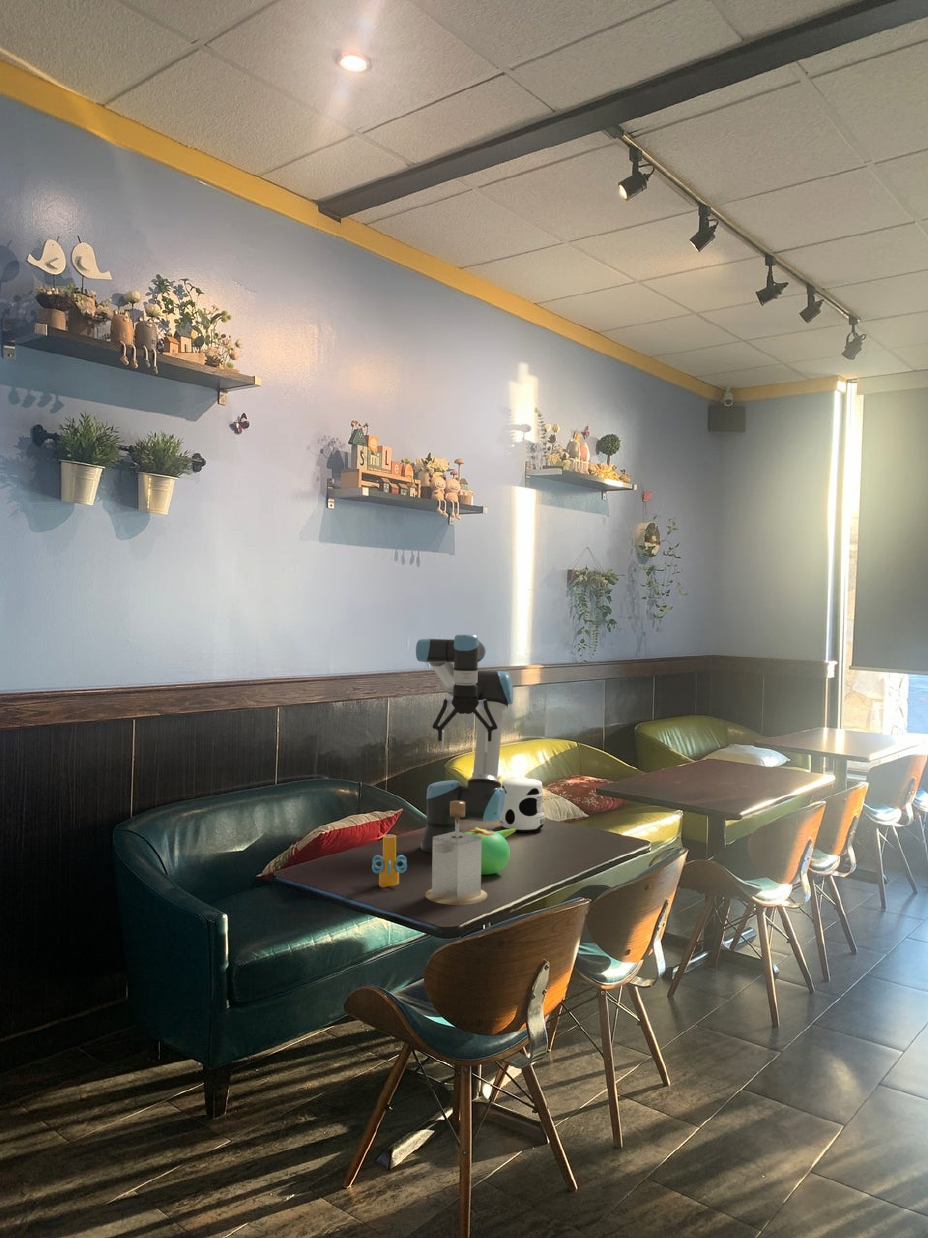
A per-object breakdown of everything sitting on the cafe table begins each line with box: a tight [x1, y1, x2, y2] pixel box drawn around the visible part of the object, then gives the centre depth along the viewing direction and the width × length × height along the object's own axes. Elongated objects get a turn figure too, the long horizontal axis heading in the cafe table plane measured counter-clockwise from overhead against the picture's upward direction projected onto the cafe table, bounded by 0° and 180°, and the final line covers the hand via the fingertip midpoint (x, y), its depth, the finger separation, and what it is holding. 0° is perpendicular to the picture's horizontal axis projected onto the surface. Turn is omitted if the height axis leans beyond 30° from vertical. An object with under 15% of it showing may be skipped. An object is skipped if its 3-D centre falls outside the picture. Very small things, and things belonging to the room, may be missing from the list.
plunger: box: [450, 801, 465, 839], centre depth 272 cm, size 7×7×20 cm
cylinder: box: [371, 833, 408, 889], centre depth 282 cm, size 12×10×15 cm
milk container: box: [498, 777, 546, 833], centre depth 356 cm, size 17×17×18 cm
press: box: [431, 831, 482, 902], centre depth 272 cm, size 10×16×17 cm, turn 137°
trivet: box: [424, 888, 488, 906], centre depth 272 cm, size 18×18×1 cm
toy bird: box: [464, 826, 516, 876], centre depth 297 cm, size 18×17×15 cm
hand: (464, 751), depth 294 cm, fingers open, 13 cm apart
